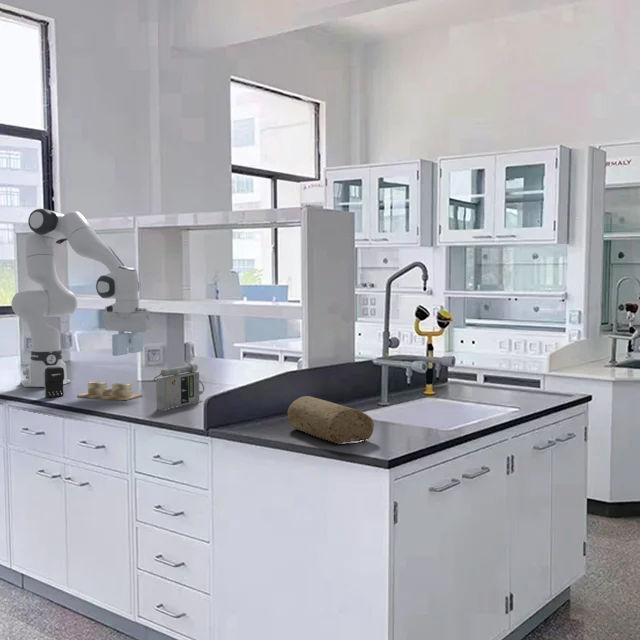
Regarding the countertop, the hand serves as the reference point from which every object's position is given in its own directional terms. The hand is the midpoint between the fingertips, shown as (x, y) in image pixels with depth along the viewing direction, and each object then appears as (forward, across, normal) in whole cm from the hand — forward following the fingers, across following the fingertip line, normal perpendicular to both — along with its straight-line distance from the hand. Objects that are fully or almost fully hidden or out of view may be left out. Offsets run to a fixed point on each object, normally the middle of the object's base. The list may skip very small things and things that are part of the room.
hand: (127, 342), depth 293 cm
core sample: (+18, -103, +46) cm, 114 cm away
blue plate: (+4, 0, 0) cm, 4 cm away
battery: (+19, +16, +23) cm, 34 cm away
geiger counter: (+18, -37, +19) cm, 45 cm away
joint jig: (+18, -3, +15) cm, 24 cm away
